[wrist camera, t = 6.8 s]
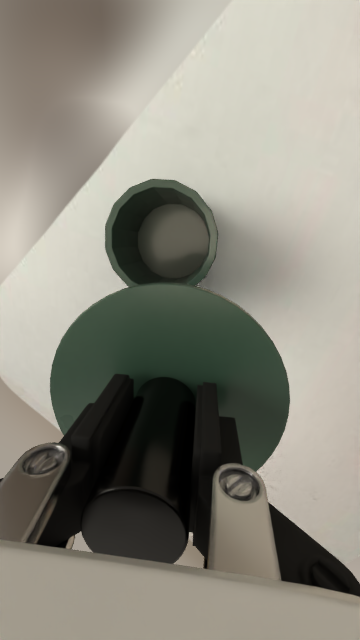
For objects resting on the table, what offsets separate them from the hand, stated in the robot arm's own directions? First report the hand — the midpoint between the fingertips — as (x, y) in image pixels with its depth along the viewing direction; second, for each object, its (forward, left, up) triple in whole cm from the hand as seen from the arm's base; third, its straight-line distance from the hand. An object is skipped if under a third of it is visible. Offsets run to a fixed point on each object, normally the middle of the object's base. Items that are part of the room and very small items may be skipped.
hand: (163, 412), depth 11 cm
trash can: (-3, +7, -23) cm, 24 cm away
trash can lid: (0, 0, -1) cm, 1 cm away
